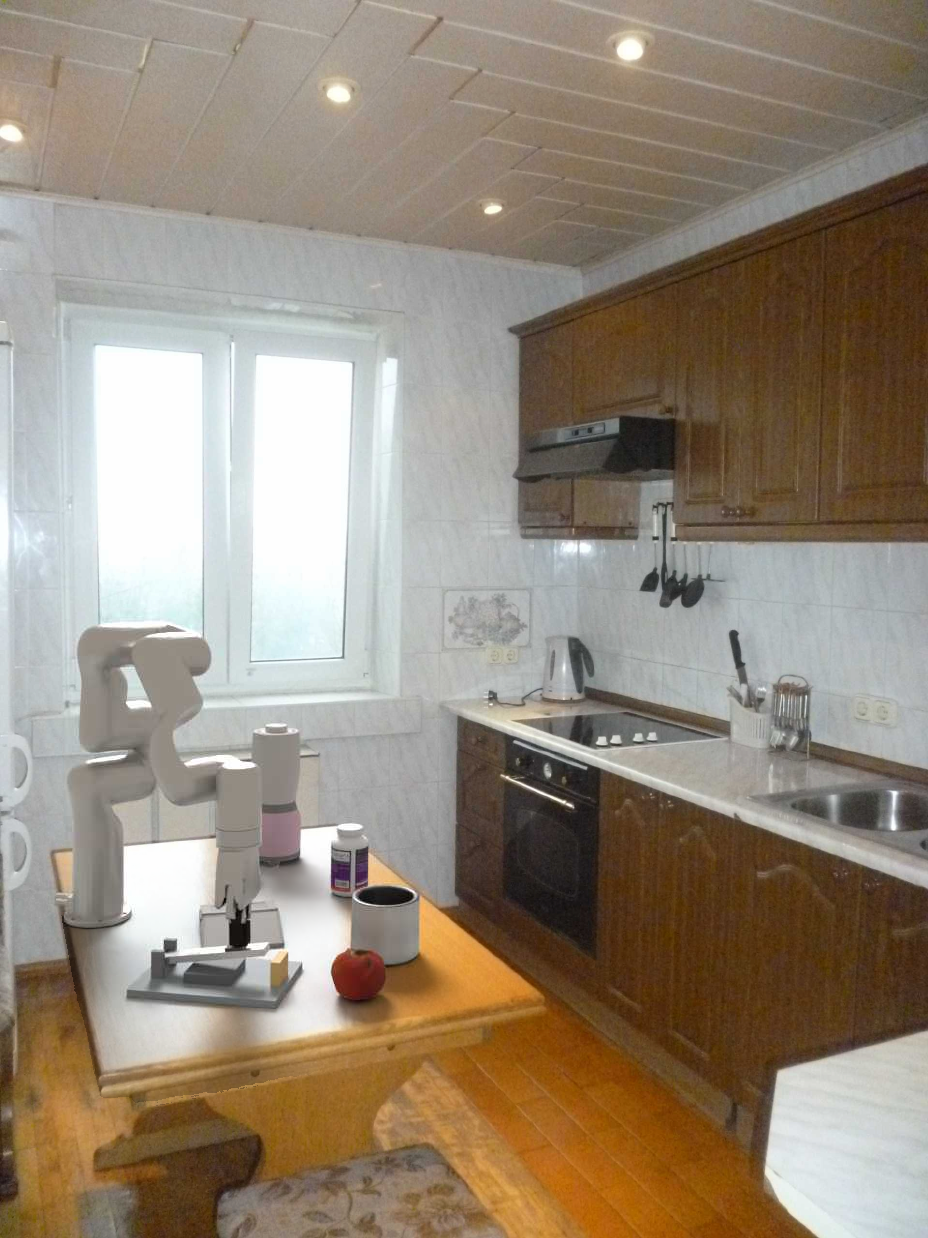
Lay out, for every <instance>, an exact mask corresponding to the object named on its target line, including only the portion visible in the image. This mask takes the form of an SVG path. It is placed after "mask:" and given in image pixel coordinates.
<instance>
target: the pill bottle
mask: <svg viewBox="0 0 928 1238" xmlns="http://www.w3.org/2000/svg"><path fill="white" fill-rule="evenodd" d="M363 832H364V827H363V825H362V824H360V823H359V824H358V823H352V822H350V823H342V824H339V825H337V826H336V834H337V835H336V836H334V837H333V838H332V840H331V843H330V891H331V892H332V893H333V894H334V895H335V896H339V897H344V898H352V895H353V893H354V892H355V891H356V890H358V889H361V888H363V887H367V886H369V849H370V848H369V840H368V837H366V836H364V835H363Z"/></svg>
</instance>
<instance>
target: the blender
mask: <svg viewBox="0 0 928 1238" xmlns="http://www.w3.org/2000/svg"><path fill="white" fill-rule="evenodd" d="M251 740H252V741H251V756H250V757H251V761H250V763H254V764H257V765H258V766H259V767H260V769H261V779H262V845H261V846H260V847H258V851H259V859H260V862H264V863H265V862H266V863H268V867H269V868H277V867H279V866H280V865H279V864H280V862H286V861H287V862H288V861H292V860H295V859H300V858H301V849H302V848H301V835H302V819H301V817H302V816H301V813H300V811H299V808H298V805H297V803H296V801H297V800H296V799H297V794H298V793H297V792H298V787H299V783H300V782H299V780H300V773H301V736H300V731H299V730H298V729H296V728H294V727H293V728H292V727H289V726H288V725H287V724H286V723H267V724H266V725H265V726H264V727H261V728H258V729H254V731H253V732H252V739H251Z"/></svg>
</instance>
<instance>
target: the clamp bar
mask: <svg viewBox="0 0 928 1238" xmlns="http://www.w3.org/2000/svg"><path fill="white" fill-rule="evenodd" d="M269 951H271V947H270V945H269V942H266V943H254V944H248V945H247V946H246V947H241V946H230V945H228V946H218V947H206V948H202V947H195V948H194V947H193V948H184V949H177V950H166V951H165V964H173V963H185V962H197V961H210V960H222V959H234V958H258V957H265V956H266V955H267V954H268V952H269Z"/></svg>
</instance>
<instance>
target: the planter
mask: <svg viewBox="0 0 928 1238" xmlns="http://www.w3.org/2000/svg"><path fill="white" fill-rule="evenodd" d="M420 898H421V896H420V893H419V892H418V891H417V890H416V889H414V888H411V887H408V886H403V885H398V884H373V885H368V886H367V887H363V888H361V889H358V890H356V891H355V892H354V893H353V895H352V897H351V920H350V923H351V924H350V944H349V945H350V947H349V948H352V949H368V950H371V951H373V952H375V953H376V954H378V955H379V956H381V957H382V959H383V961H384V965H385V967H391V966H399V965H402V964H405V963H408V962H409V961H411V960H413V959H414V958H415V957H417V956H418V954H419V950H420V905H421V904H420V902H421V901H420V900H421V899H420Z"/></svg>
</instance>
